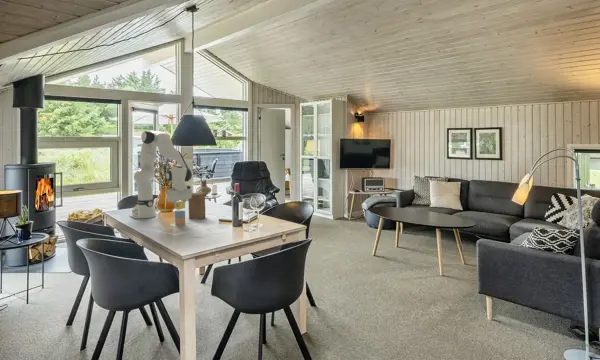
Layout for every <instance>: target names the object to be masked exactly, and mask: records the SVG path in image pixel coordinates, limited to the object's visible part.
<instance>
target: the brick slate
mask: <svg viewBox="0 0 600 360" xmlns="http://www.w3.org/2000/svg"><path fill="white" fill-rule="evenodd" d="M175 218H179V219H180V218H185V219H186V211H185V210H184V209H177V210H174V219H175Z"/></svg>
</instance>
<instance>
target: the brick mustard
mask: <svg viewBox="0 0 600 360" xmlns="http://www.w3.org/2000/svg"><path fill="white" fill-rule="evenodd" d="M176 204H178V207H175V206H174V209H175V210H184V209H186V202H185V201H183V200H178V201H177V202H176Z"/></svg>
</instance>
